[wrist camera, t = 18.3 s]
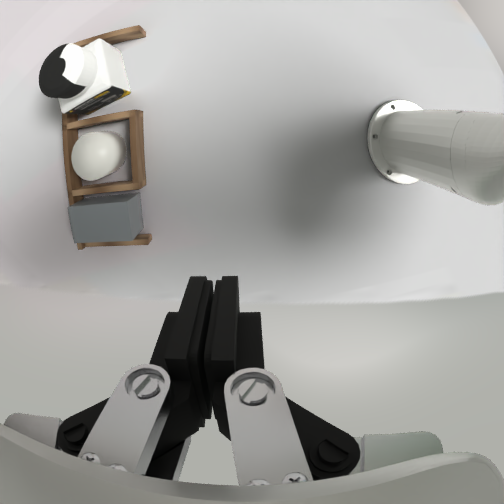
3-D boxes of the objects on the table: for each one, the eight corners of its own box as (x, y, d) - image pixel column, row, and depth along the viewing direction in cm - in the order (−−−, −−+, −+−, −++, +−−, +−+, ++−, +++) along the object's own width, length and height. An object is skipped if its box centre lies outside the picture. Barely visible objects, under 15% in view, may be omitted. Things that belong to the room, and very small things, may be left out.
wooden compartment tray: (146, 32, 25) (139, 25, 23) (151, 239, 38) (146, 247, 35) (76, 50, 25) (66, 46, 22) (86, 241, 37) (78, 249, 34)
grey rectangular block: (139, 192, 35) (127, 201, 30) (143, 227, 37) (132, 240, 32) (84, 197, 34) (67, 207, 30) (89, 230, 36) (74, 243, 32)
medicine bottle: (88, 115, 30) (36, 115, 19) (78, 73, 27) (28, 61, 16) (132, 93, 29) (90, 80, 18) (121, 50, 26) (80, 25, 15)
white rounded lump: (126, 128, 31) (110, 128, 27) (128, 171, 34) (113, 177, 29) (88, 134, 31) (70, 136, 26) (91, 176, 33) (73, 183, 29)
